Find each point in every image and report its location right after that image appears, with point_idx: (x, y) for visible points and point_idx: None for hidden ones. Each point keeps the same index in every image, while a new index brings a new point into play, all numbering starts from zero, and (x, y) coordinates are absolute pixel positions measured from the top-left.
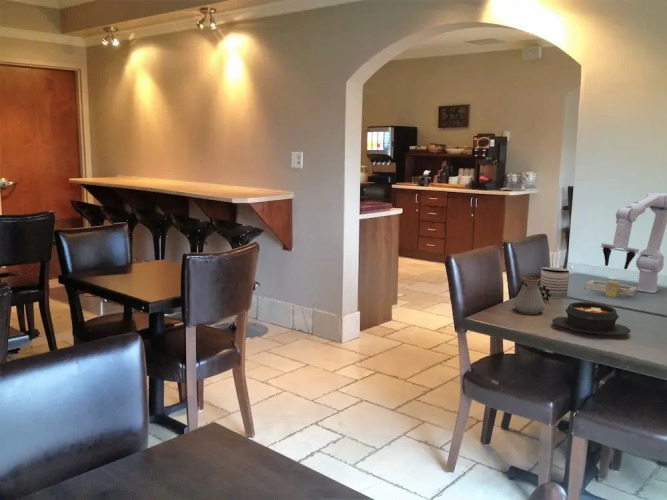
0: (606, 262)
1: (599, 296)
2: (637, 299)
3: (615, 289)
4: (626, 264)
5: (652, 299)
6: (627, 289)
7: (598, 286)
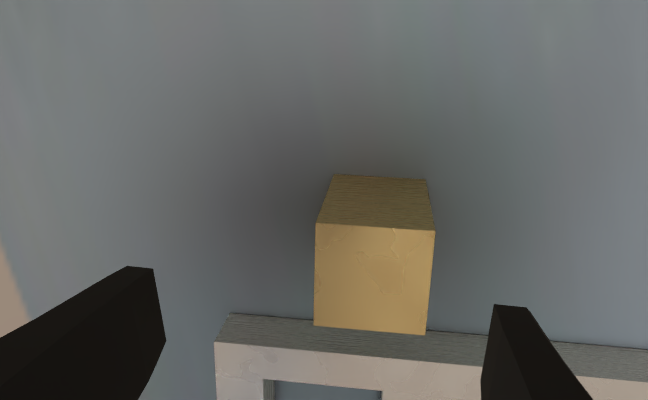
0: (519, 343)
1: (469, 101)
2: (164, 225)
3: (331, 200)
4: (61, 309)
5: None
6: (265, 357)
7: None
